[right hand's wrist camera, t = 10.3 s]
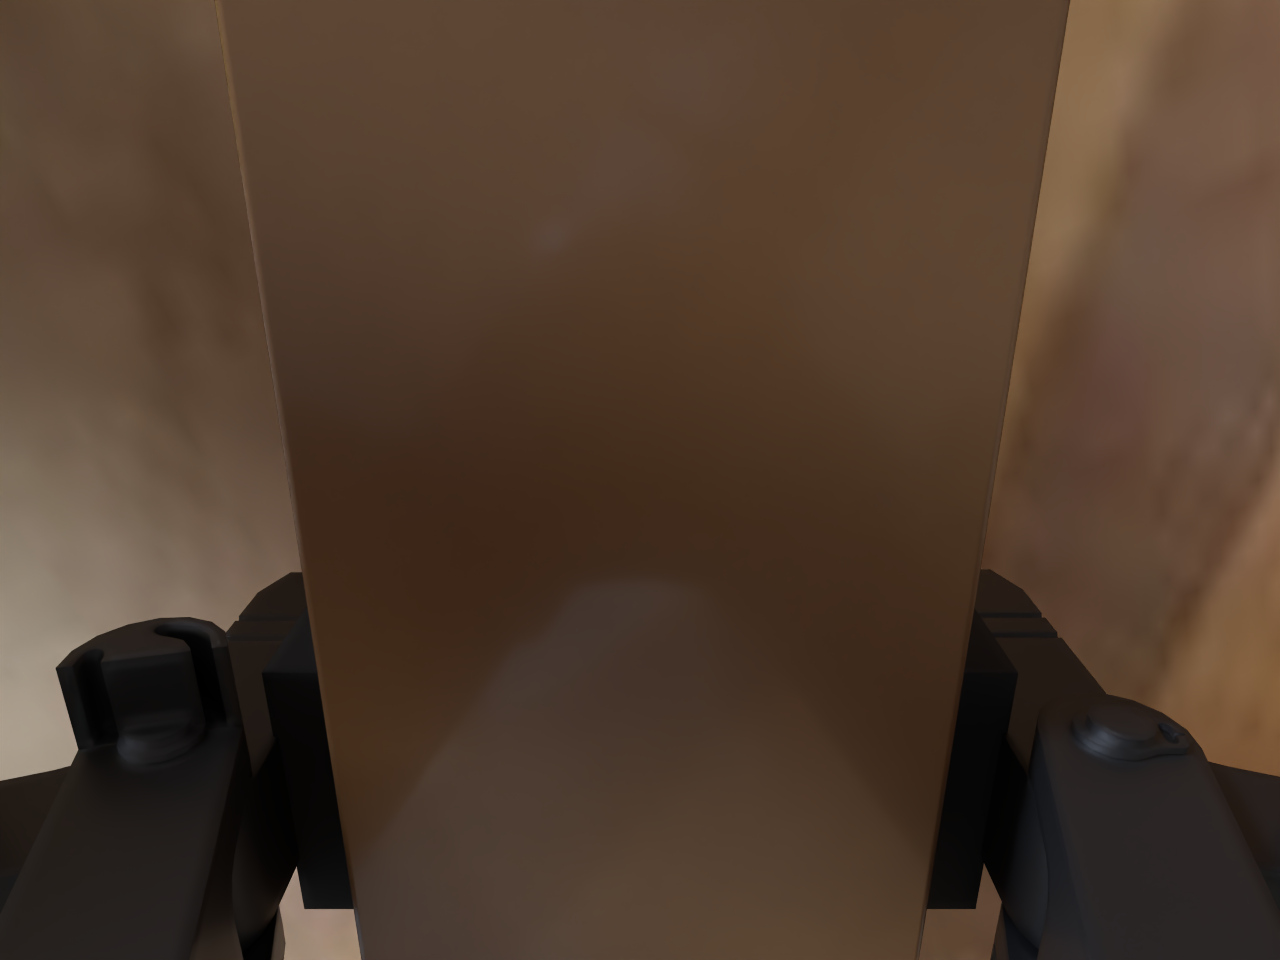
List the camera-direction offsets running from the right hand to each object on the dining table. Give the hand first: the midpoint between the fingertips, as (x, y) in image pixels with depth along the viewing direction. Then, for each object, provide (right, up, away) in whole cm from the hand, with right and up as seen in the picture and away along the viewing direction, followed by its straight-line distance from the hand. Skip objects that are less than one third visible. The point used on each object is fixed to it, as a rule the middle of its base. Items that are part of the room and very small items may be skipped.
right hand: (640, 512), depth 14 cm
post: (0, -24, +11) cm, 26 cm away
